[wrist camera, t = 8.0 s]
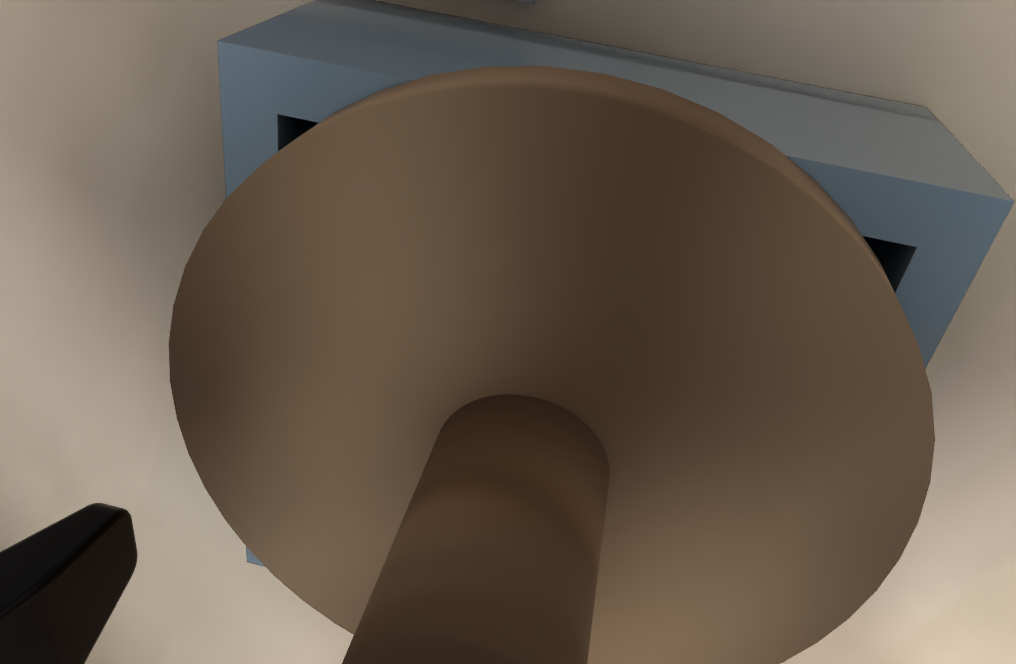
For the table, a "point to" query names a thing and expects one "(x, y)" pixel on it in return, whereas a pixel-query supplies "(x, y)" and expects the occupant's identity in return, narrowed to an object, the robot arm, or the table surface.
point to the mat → (528, 1)
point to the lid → (552, 379)
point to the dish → (737, 95)
